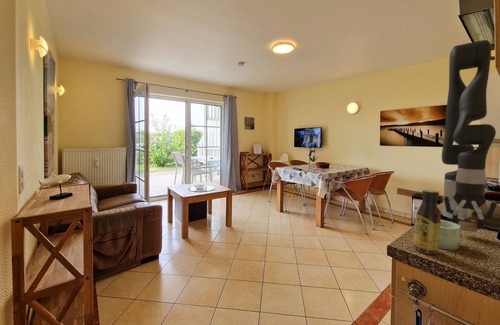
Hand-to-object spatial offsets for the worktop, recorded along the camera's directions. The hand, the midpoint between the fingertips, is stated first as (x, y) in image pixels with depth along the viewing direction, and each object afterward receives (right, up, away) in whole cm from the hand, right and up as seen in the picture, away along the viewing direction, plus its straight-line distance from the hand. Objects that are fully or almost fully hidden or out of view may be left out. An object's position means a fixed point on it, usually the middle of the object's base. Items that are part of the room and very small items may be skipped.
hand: (466, 226), depth 84 cm
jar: (-14, -4, -5) cm, 15 cm away
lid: (0, -1, 0) cm, 1 cm away
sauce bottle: (-23, -5, -10) cm, 26 cm away
